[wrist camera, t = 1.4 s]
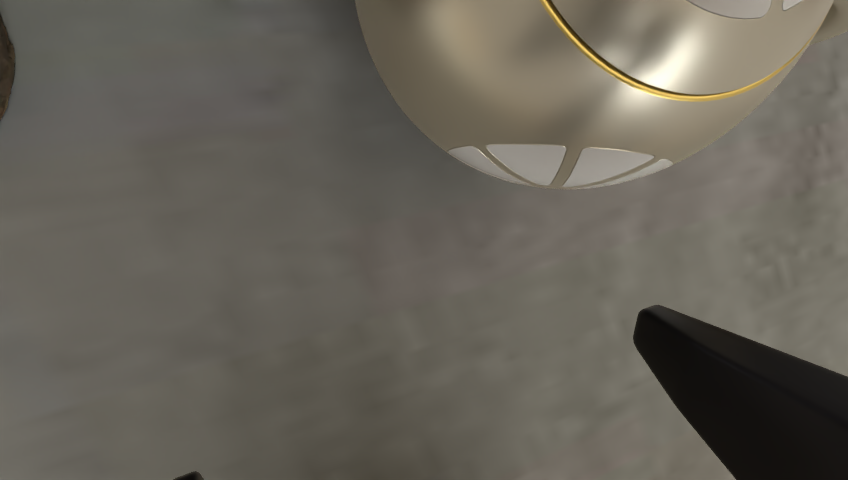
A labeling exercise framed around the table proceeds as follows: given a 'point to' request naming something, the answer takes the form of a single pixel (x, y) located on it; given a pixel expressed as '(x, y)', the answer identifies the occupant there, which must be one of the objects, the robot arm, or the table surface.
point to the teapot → (586, 77)
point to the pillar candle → (5, 68)
